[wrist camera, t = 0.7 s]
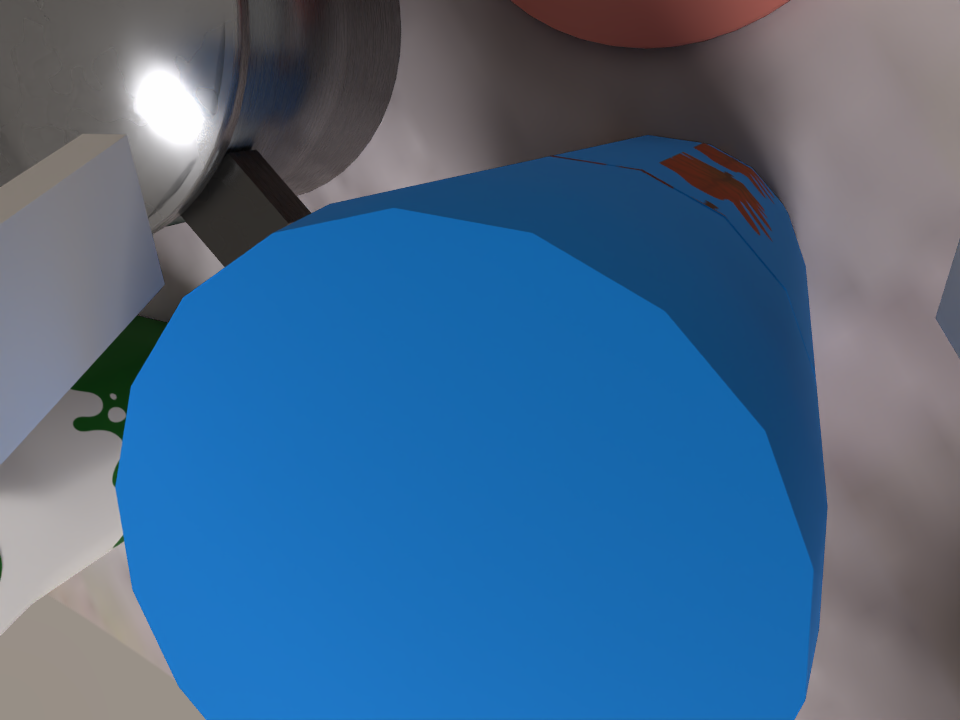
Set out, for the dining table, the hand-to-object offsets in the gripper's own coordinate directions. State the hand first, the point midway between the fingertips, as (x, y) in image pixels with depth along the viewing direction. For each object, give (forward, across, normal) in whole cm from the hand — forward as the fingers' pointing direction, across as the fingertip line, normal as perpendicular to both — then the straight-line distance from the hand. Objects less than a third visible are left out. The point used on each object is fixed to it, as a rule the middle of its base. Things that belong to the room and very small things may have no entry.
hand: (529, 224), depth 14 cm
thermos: (+19, -4, +11) cm, 22 cm away
